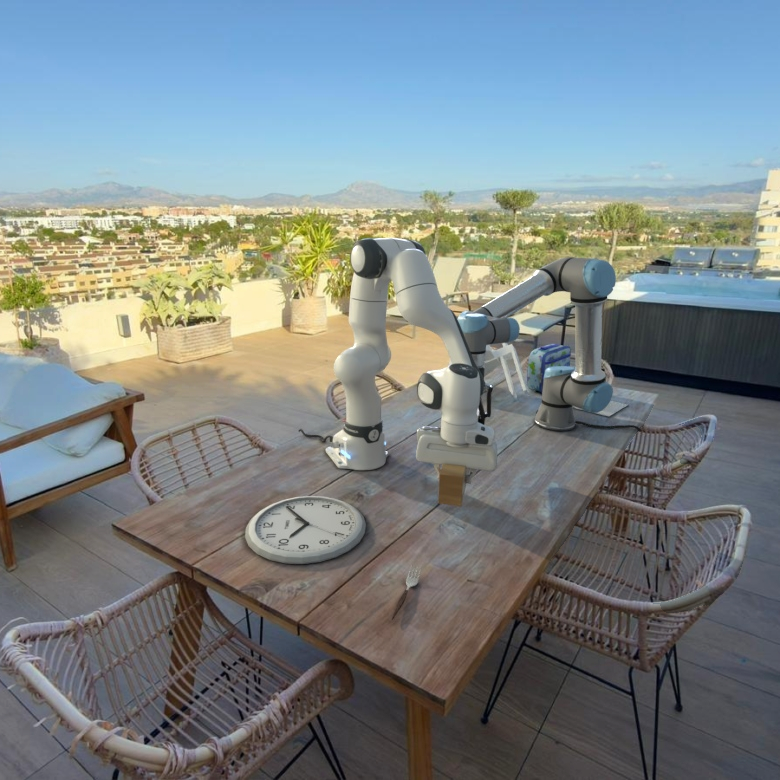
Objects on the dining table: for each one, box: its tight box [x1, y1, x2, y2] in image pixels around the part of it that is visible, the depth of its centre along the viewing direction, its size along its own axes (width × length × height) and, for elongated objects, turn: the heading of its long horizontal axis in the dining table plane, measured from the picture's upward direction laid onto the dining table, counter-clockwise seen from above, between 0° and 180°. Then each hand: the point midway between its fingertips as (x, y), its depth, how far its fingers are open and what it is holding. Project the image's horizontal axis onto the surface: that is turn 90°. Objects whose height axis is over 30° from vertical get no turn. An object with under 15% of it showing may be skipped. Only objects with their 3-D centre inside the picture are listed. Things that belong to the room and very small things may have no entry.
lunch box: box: [526, 343, 572, 394], centre depth 248 cm, size 26×11×21 cm, turn 135°
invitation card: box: [573, 400, 629, 418], centre depth 226 cm, size 21×1×15 cm
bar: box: [437, 408, 480, 507], centre depth 149 cm, size 51×6×8 cm, turn 166°
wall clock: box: [244, 495, 367, 565], centre depth 132 cm, size 30×2×30 cm
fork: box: [391, 565, 422, 620], centre depth 108 cm, size 3×16×2 cm, turn 160°
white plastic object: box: [443, 343, 531, 400], centre depth 245 cm, size 37×45×31 cm
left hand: (454, 480), depth 133 cm, fingers closed on bar, 5 cm apart
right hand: (468, 435), depth 166 cm, fingers closed on bar, 6 cm apart
